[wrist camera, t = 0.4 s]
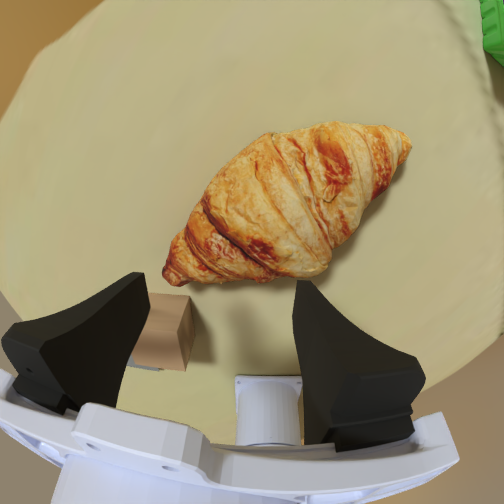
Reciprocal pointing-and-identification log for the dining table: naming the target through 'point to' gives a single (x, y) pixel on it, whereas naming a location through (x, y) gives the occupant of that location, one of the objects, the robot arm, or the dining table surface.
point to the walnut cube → (166, 333)
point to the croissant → (285, 204)
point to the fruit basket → (493, 28)
